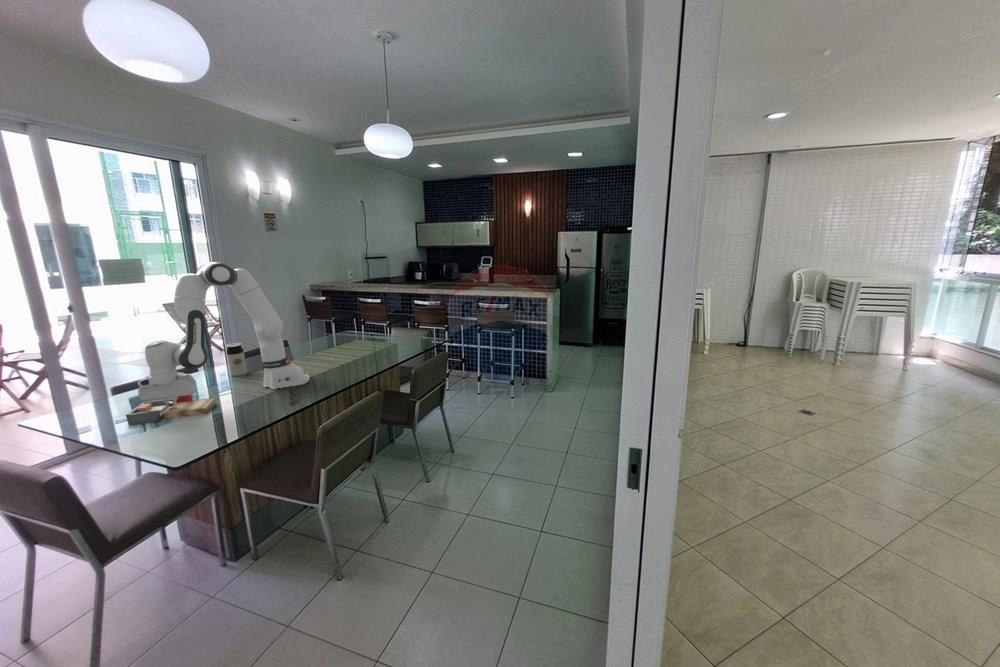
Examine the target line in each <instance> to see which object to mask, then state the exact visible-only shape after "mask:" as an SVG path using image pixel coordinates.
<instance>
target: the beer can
mask: <svg viewBox="0 0 1000 667" xmlns="http://www.w3.org/2000/svg"><path fill="white" fill-rule="evenodd" d="M192 396H193V395H185V396H178V399H177V401H176V403H182V402H190V401H194V400H193V397H192Z"/></svg>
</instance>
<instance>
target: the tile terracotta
mask: <svg viewBox="0 0 1000 667" xmlns="http://www.w3.org/2000/svg"><path fill="white" fill-rule="evenodd" d="M152 407H153V406H152V403H148V404H143V405H141V406H140V407H139V408H137V409H138V413H140V412H147V411H149V410H150V409H151V408H152Z"/></svg>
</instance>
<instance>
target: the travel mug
mask: <svg viewBox="0 0 1000 667" xmlns="http://www.w3.org/2000/svg"><path fill="white" fill-rule="evenodd" d="M225 347H226V348H227V349H226V351H225V352H226V355H227V360H228V364H229V371H230V376H232V377H240V376H239V375H241V376H244V375H246V374H248V368H247V362H246V358H245V353H244V348H243V347H242V343H241V342H233V343H228V344H226V345H225Z"/></svg>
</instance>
